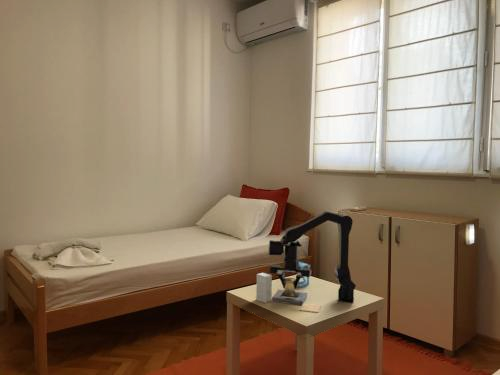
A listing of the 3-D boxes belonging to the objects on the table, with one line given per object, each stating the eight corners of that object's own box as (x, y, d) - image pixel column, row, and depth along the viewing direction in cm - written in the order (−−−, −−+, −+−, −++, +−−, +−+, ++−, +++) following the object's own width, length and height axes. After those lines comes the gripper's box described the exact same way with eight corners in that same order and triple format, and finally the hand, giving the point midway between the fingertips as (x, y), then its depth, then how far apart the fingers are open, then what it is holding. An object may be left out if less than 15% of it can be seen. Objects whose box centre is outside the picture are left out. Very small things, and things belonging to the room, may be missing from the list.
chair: (312, 285, 209) (313, 262, 209) (300, 287, 205) (300, 264, 204) (302, 281, 216) (303, 259, 215) (290, 283, 211) (291, 260, 211)
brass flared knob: (297, 293, 189) (297, 278, 189) (294, 297, 184) (294, 281, 183) (285, 291, 191) (285, 277, 190) (282, 295, 185) (282, 280, 185)
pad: (321, 306, 178) (321, 305, 178) (318, 312, 171) (318, 311, 171) (303, 304, 181) (303, 303, 181) (299, 310, 173) (299, 309, 173)
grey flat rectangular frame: (307, 296, 191) (307, 292, 191) (302, 305, 180) (302, 301, 180) (278, 293, 196) (278, 289, 195) (272, 301, 184) (272, 297, 184)
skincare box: (271, 300, 185) (272, 275, 184) (265, 302, 182) (266, 276, 181) (262, 297, 189) (262, 272, 188) (255, 299, 186) (256, 273, 185)
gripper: (313, 253, 191) (312, 286, 192) (275, 250, 197) (274, 281, 198) (309, 258, 180) (308, 293, 181) (269, 255, 186) (268, 288, 187)
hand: (290, 288), depth 187 cm, fingers closed on brass flared knob, 5 cm apart
